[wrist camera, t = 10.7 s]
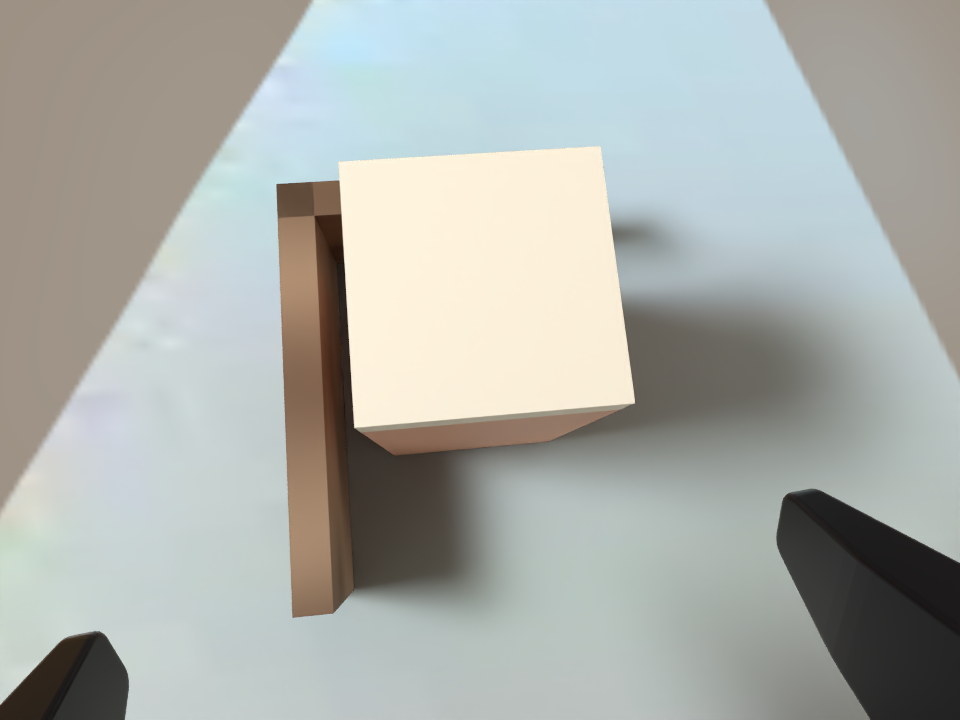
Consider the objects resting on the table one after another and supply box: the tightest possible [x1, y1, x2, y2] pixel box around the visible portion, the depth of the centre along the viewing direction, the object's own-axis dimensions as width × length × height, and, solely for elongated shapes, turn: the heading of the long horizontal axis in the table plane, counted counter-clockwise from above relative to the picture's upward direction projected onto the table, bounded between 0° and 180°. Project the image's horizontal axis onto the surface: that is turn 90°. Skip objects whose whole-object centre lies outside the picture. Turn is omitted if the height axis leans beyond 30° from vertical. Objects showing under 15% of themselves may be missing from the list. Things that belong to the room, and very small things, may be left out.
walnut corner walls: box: [276, 180, 354, 618], centre depth 20 cm, size 12×8×4 cm
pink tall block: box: [339, 146, 635, 456], centre depth 17 cm, size 5×5×10 cm
